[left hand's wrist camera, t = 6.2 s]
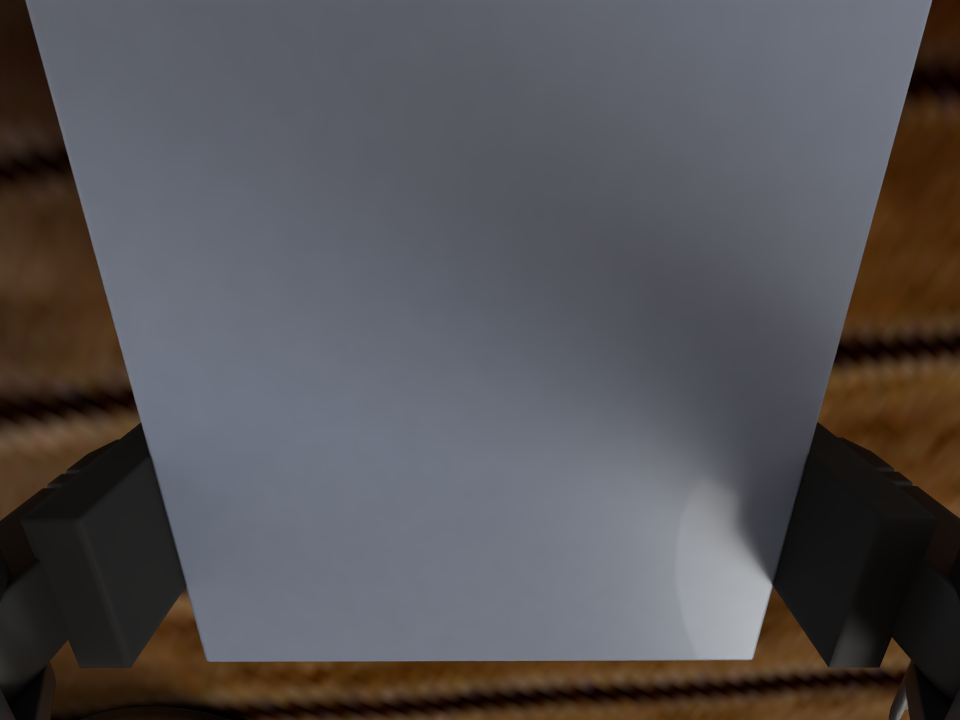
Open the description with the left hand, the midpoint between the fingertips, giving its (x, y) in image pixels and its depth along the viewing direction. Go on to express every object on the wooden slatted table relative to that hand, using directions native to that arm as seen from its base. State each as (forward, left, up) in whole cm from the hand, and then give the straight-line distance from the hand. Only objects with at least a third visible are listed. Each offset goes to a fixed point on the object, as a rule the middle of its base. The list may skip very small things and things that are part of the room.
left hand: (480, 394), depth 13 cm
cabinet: (+1, +6, -5) cm, 8 cm away
